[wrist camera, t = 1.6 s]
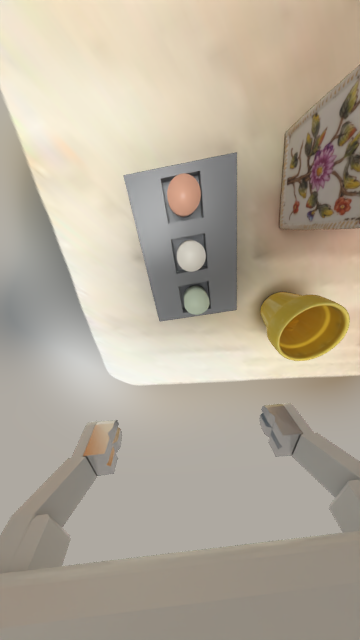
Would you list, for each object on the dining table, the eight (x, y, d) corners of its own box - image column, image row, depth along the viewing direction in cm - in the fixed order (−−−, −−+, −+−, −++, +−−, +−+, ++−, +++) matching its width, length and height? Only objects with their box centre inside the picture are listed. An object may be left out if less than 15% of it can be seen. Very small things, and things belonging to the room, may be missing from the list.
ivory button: (201, 237, 25) (204, 238, 22) (203, 265, 27) (206, 269, 24) (174, 242, 25) (174, 243, 22) (179, 269, 27) (179, 273, 24)
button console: (229, 161, 23) (236, 152, 20) (231, 303, 32) (236, 309, 30) (129, 181, 23) (123, 175, 21) (160, 314, 33) (159, 321, 31)
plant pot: (301, 324, 35) (342, 355, 26) (251, 334, 36) (275, 367, 27) (307, 276, 30) (360, 294, 22) (249, 289, 31) (278, 311, 23)
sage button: (205, 283, 28) (208, 289, 25) (207, 305, 30) (210, 312, 27) (181, 287, 28) (182, 293, 26) (185, 308, 30) (186, 316, 27)
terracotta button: (196, 177, 21) (199, 170, 19) (199, 214, 23) (202, 211, 21) (165, 183, 22) (164, 177, 19) (171, 219, 24) (170, 217, 21)
